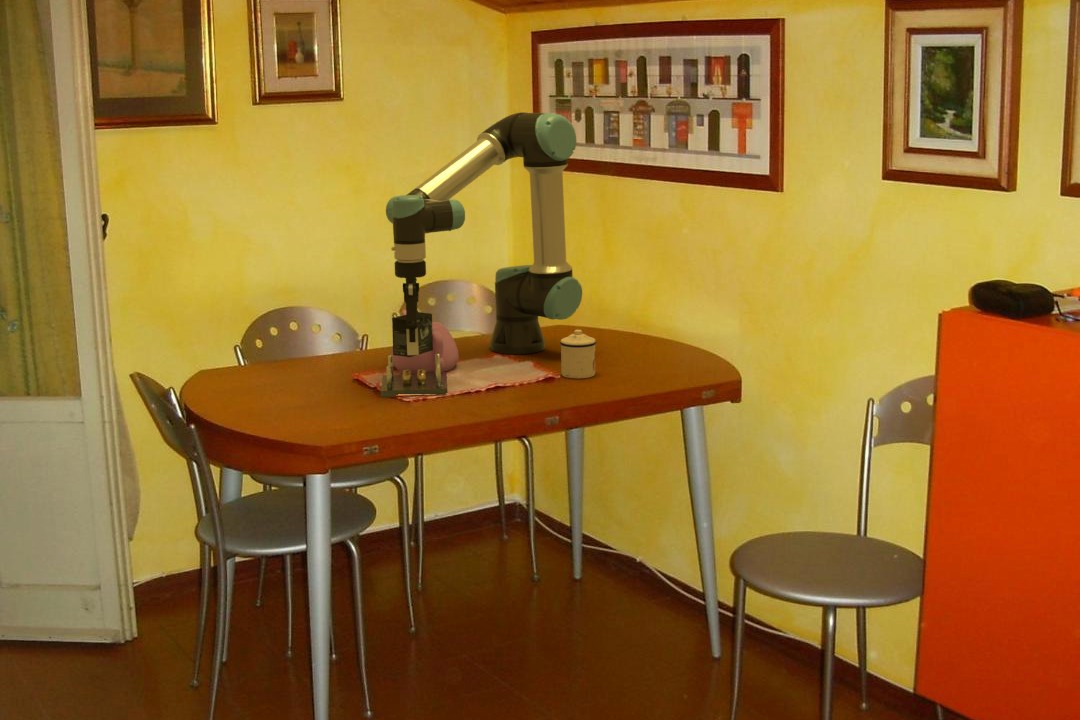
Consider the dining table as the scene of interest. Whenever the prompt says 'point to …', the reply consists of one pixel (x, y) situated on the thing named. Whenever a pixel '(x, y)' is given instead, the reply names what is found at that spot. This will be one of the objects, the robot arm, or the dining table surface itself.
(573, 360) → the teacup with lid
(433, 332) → the teapot
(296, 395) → the dining table surface
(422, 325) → the box
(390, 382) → the chassis
